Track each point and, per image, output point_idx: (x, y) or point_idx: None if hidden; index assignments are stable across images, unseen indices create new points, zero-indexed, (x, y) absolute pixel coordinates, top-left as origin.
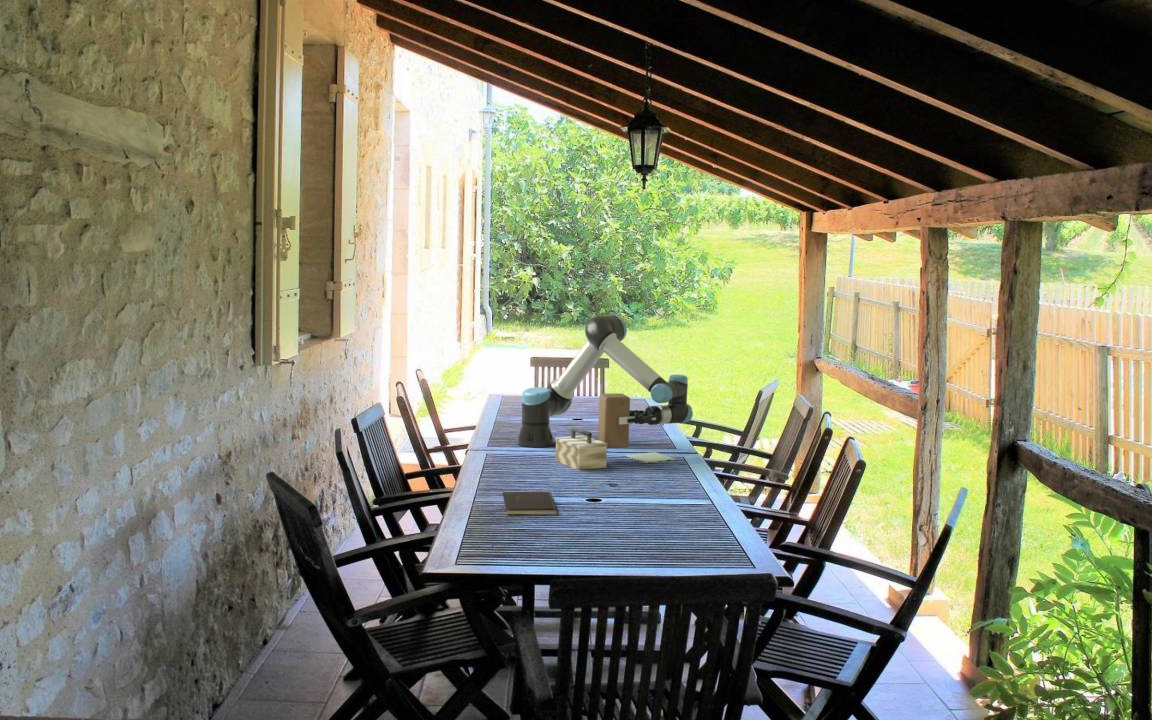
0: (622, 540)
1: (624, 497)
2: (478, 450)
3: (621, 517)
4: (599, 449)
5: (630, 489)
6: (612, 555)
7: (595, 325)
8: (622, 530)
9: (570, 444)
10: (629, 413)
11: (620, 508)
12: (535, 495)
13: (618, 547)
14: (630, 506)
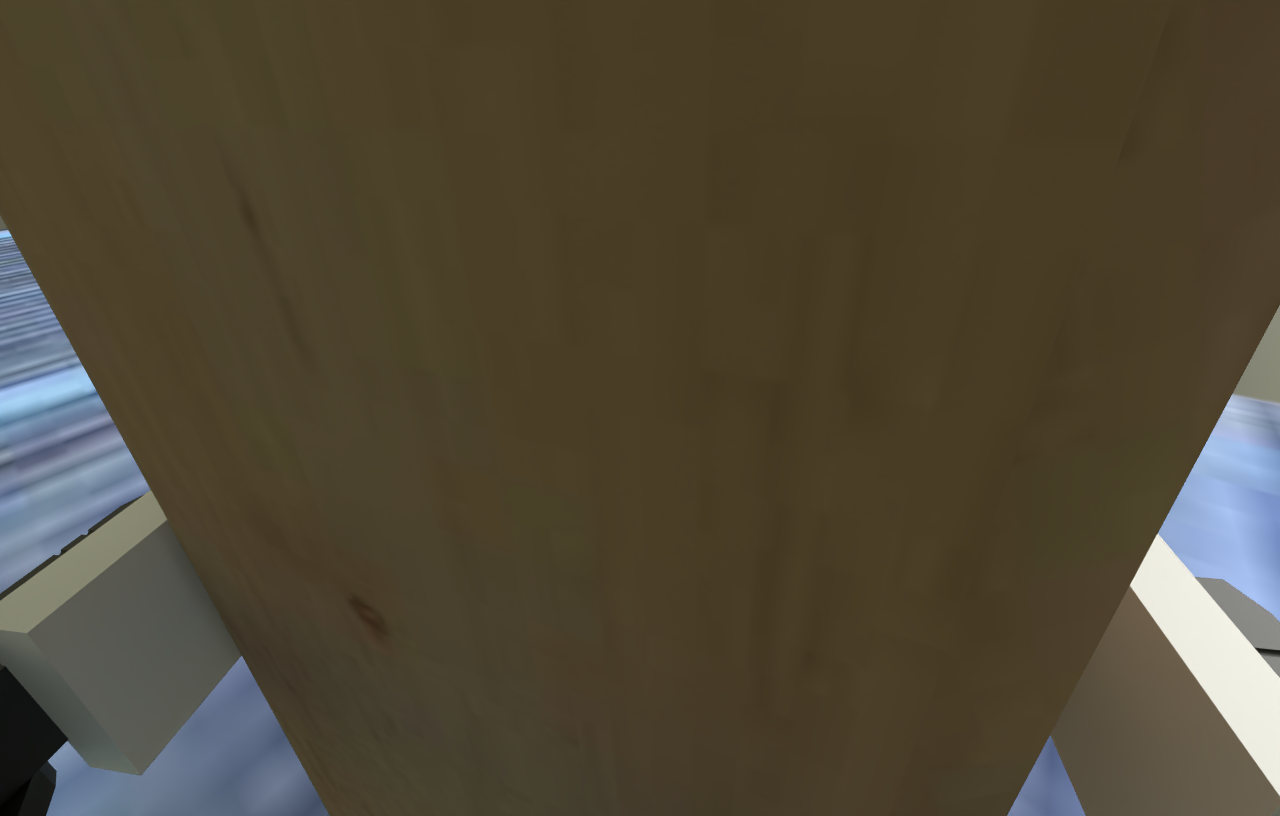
0: (7, 272)
1: (84, 395)
2: (1259, 406)
3: (44, 317)
4: None
5: (83, 461)
6: (18, 248)
7: None
8: (19, 288)
9: None
10: (139, 465)
11: (69, 343)
12: None
13: (11, 260)
14: (30, 362)
